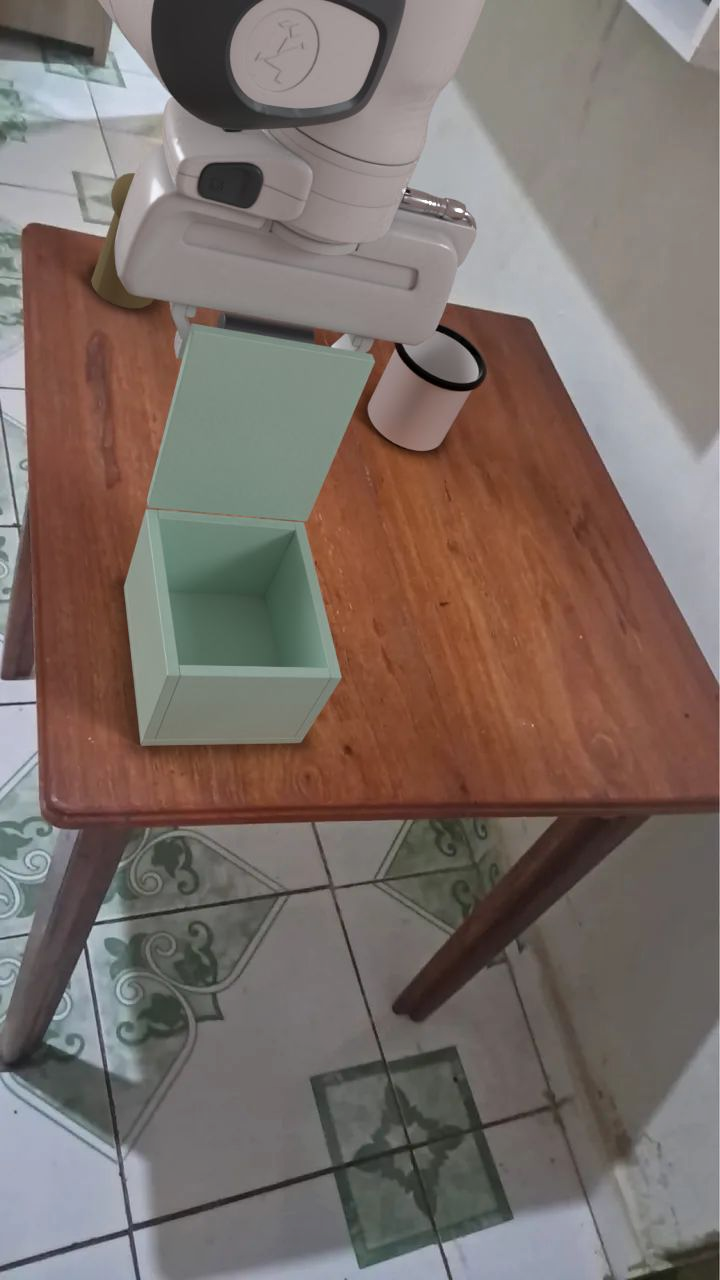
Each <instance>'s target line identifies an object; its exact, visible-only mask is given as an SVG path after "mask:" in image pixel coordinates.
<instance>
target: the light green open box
mask: <svg viewBox="0 0 720 1280" xmlns="http://www.w3.org/2000/svg"><path fill="white" fill-rule="evenodd" d="M308 537H309V536H308V533H307V529H306V524H305V522H304V521H294V520H282V519H271V518H259V517H248V516H236V515H225V514H213V513H202V512H190V511H179V510H167V509H154V508H146V509H145V511H144V514H143V519H142V522H141V526H140V528H139V532H138V536H137V539H136V543H135V548H134V549H133V553H132V557H131V561H130V564H129V567H128V571H127V575H126V578H125V582H124V585H123V592H124V601H125V611H126V620H127V621H126V622H127V629H128V640H129V650H130V656H131V657H130V658H131V667H132V677H133V685H134V686H133V687H134V695H135V707H136V715H137V724H138V725H137V726H138V733H139V734H138V735H139V742H140V746H141V747H142V746H143V747H146V746H148V747H149V746H202V745H203V746H209V745H260V744H261V745H265V744H269V745H271V744H272V745H273V744H301V743H302V742H303V740H304V738H305V737H306V735H307V734H308V733H309V731H310V729H311V727H312V726H313V724H314V723H315V721H316V720H317V718H318V717H319V715H320V713H321V711H322V710H323V708H324V707H325V705H326V703H327V702H328V701H329V699H330V697H331V696H332V694H333V693H334V691H335V690H336V688H337V686H338V685H339V683H340V682H341V679H342V678H343V677H342V672H341V668H340V664H339V660H338V657H337V652H336V648H335V643H334V640H333V635H332V631H331V628H330V623H329V620H328V615H327V611H326V607H325V602H324V599H323V594H322V591H321V587H320V586H321V585H320V583H319V578H318V574H317V570H316V566H315V563H314V562H315V561H314V558H313V554H312V550H311V546H310V542H309V538H308Z"/></svg>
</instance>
